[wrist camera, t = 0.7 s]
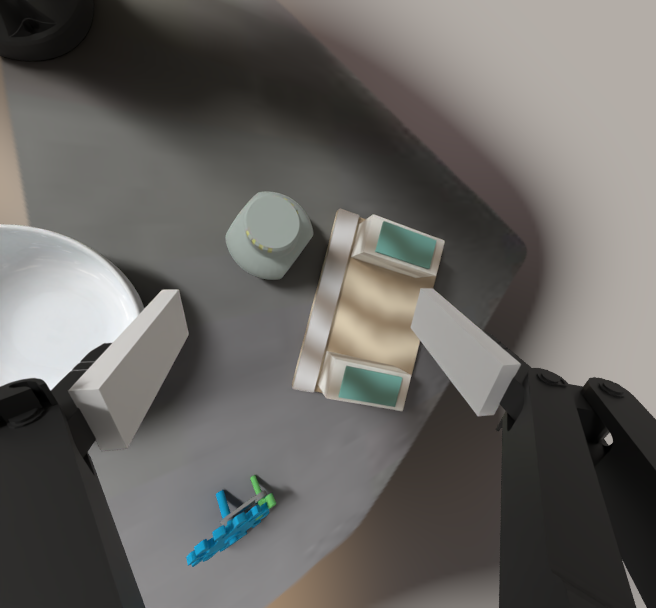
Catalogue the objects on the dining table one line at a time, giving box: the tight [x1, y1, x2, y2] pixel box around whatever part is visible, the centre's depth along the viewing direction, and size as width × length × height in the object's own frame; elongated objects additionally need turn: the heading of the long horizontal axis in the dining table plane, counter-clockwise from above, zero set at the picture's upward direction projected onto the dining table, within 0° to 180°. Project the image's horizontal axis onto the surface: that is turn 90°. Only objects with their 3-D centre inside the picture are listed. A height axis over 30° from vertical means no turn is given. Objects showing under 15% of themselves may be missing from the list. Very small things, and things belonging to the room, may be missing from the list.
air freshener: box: [226, 192, 313, 280], centre depth 31 cm, size 11×8×10 cm
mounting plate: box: [292, 209, 445, 411], centre depth 37 cm, size 26×18×6 cm
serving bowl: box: [0, 224, 144, 391], centre depth 28 cm, size 21×21×7 cm
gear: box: [186, 475, 276, 567], centre depth 34 cm, size 11×6×10 cm
